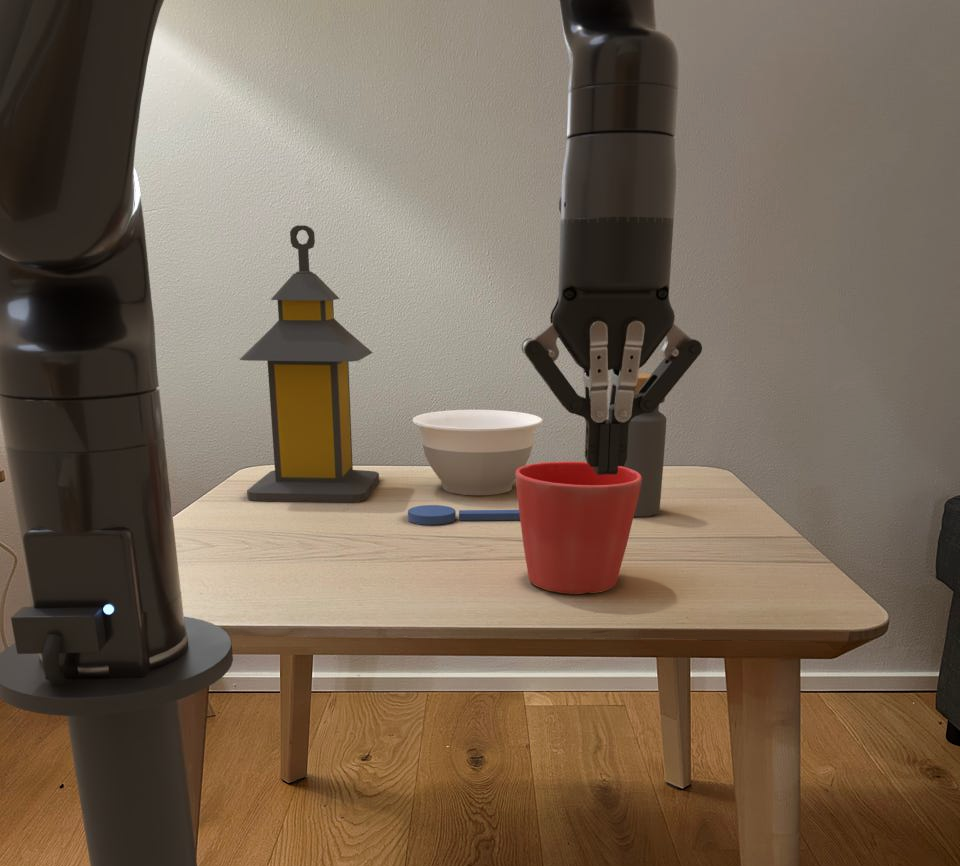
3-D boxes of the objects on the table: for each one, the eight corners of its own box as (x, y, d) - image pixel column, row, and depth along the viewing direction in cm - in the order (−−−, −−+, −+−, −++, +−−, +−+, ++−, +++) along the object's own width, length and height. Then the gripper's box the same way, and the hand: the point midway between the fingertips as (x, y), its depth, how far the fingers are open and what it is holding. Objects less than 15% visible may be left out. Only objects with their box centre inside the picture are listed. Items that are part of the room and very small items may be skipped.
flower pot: (620, 562, 91) (626, 459, 87) (646, 600, 81) (655, 484, 77) (507, 564, 90) (509, 459, 87) (519, 602, 80) (522, 485, 77)
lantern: (273, 476, 127) (256, 227, 116) (380, 478, 126) (372, 228, 116) (244, 500, 114) (222, 222, 103) (363, 502, 113) (353, 223, 103)
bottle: (651, 519, 107) (662, 379, 101) (600, 513, 109) (608, 376, 104) (665, 508, 112) (675, 374, 106) (616, 503, 114) (624, 371, 109)
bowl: (467, 508, 111) (467, 432, 108) (388, 485, 123) (386, 416, 119) (567, 490, 120) (570, 420, 117) (485, 470, 132) (486, 406, 129)
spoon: (564, 512, 110) (564, 503, 109) (571, 523, 105) (571, 514, 104) (408, 513, 108) (407, 505, 108) (407, 525, 104) (407, 516, 103)
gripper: (524, 211, 61) (520, 485, 67) (731, 211, 62) (708, 482, 68) (512, 217, 68) (510, 464, 74) (698, 217, 69) (681, 461, 75)
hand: (605, 472), depth 71 cm, fingers closed
